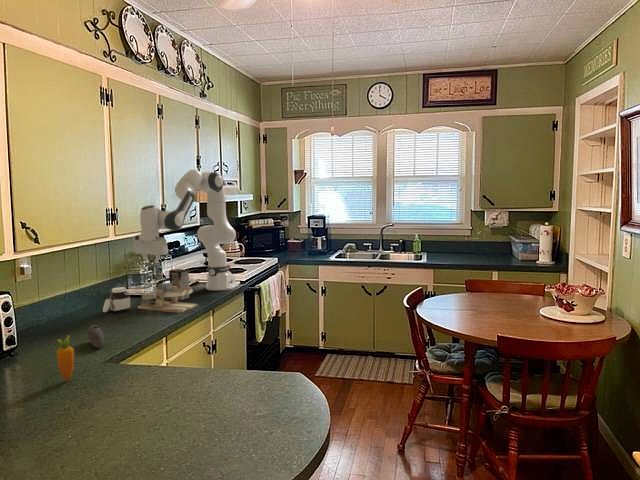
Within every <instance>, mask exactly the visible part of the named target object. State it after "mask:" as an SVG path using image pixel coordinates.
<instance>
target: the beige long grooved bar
mask: <svg viewBox="0 0 640 480" xmlns="http://www.w3.org/2000/svg"><path fill="white" fill-rule="evenodd" d="M172 290H173V291H165V292H163V296H164V298H170V297H175V296H184V295H187V294H189V295H190V294H192V293H194V290H193V288H192V287H191V286H190V285H189V286H186V287H182V288H181V289H172ZM156 291H157V290H152V291H149V292H145V293H144V292H143V293H142V295H141V300H142V302H143V304H146V303H153V302H156Z"/></svg>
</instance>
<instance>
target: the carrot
mask: <svg viewBox="0 0 640 480" xmlns="http://www.w3.org/2000/svg"><path fill="white" fill-rule="evenodd" d="M56 342H57V343H58V344H59V345H60V347H59V348H58V349H57V350H56V358H57V359H56V360H57V365H58V370H59V372H60V374H61V376H62V377H63V379H64V380H65V381H66V382H69V380H70V379H71V377H72V375H73V372H74V367H75V350H74V347H72V346H70V345H69V343H70V335H67V336H66V338H65V340H64V341H63V340H62V339H60V338H58V339H57V340H56ZM68 345H69V346H68Z"/></svg>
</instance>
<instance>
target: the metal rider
mask: <svg viewBox="0 0 640 480" xmlns="http://www.w3.org/2000/svg"><path fill="white" fill-rule="evenodd" d="M156 286H157V290H163V292H165V291H173V290H172V284H171V283H170V282H166V283H159V284H157V285H156Z"/></svg>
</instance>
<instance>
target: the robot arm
mask: <svg viewBox="0 0 640 480" xmlns="http://www.w3.org/2000/svg"><path fill="white" fill-rule="evenodd" d="M199 191H200V192H201V191H202V192H206V194H207V197H206V198H207V199H206V201H207V202H206V203H207V204H206V212H207V213H206V215H207V217H208V218H209V219H211V221H212V223H213V225H212V224H211V225H207V224H206V225H203V226H199V228H198V230H197V233H196V235H197V236H196V237H197V239H198V240H199V242H201V243H202V244H203V247H204V248H205V250H206V253H207V262H208V263H207V264H208V266H207V275H206V285H205V289H206V290H208V291H225V290H226V291H228V290H233V289H234V288H236V287H238V286H240V285H239V284H240V282H237V283H236V280H237V279H236V276H235V274H233V273H232V272H231V271H230V269H231V265H230V264H228V263H227V261H228V260H227V259H228V258H227V252H226V251H225V250H224V249H222V247H221V245H220V244H222V245H223V244H224V245H226V244H231V243H233V242H234V241H235V240H236V237H237V234H236V233H237V232H236V230H235V229H234V227H232V226H231V224H230V223H229V221H228V218H227V209H226V208H227V207H226V206H227V205H226V204H227V203H226V202H227V201H226V200H227V199H226V191H225V187H224V177H223V175H222V174H221V173H219V172H217V171H205V172H200V171H199V170H197V169H190V170H189V171H187V172H186V173H185V174H183V176H182V177H181V178H180V179H179V180H178V182H177V183H176V185H175V187H174V193H175V195H176V197H178V199H179V200H180V201H179V203H178V205H177V207H176V208H175V209H174V210H172V211H165V210H162V209H160V208H158V207H157V206H156V205H145V206H143V207H142V208H141V209H140V213H139V218H140V221H139V223H140V228H141V229H140V233H139V234H136V235H134V236H133V240H134V241H133V252H134V254H137V255H141V256H142V258H143V261H144V263H150V260H149V259H150V258H148V257H147V256H148V255H154V257H155V259H153V264H159V259H160V258H161V256H166V255H168V253H169V249H168V242H167V239H166V238H165V237H161V236H160V230H171V231H175V232H176V231H180V229H181V228H182V227H183V225H184V222H185V219H186V217H187V214H188V213H189V211H190V209H191V207H192V205H193V203H194V202H195V201H194V200H195V198H196V196H195V195H196V193H197V192H199Z"/></svg>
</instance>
